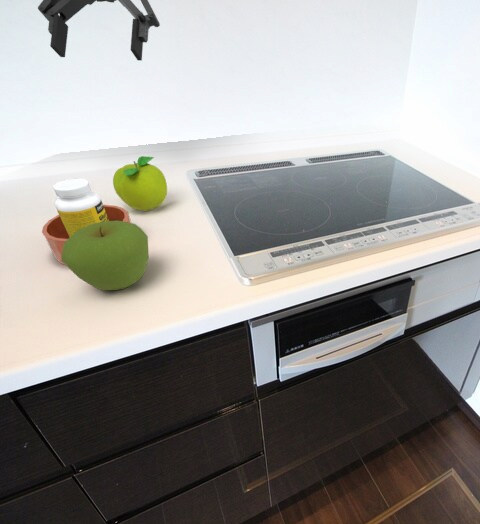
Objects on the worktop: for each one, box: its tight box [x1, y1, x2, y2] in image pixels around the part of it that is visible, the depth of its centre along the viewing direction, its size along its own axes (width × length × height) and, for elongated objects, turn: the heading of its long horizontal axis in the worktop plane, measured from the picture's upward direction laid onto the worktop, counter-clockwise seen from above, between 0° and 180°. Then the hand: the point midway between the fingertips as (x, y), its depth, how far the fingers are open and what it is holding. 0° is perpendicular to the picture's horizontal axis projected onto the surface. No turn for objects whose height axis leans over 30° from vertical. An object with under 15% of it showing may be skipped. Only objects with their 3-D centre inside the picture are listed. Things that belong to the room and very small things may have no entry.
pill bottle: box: [52, 178, 109, 237], centre depth 60 cm, size 6×6×11 cm
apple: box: [61, 221, 150, 291], centre depth 53 cm, size 11×10×10 cm
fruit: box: [112, 155, 168, 212], centre depth 73 cm, size 9×9×10 cm
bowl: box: [41, 204, 132, 266], centre depth 62 cm, size 12×12×5 cm
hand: (97, 53), depth 67 cm, fingers open, 13 cm apart
